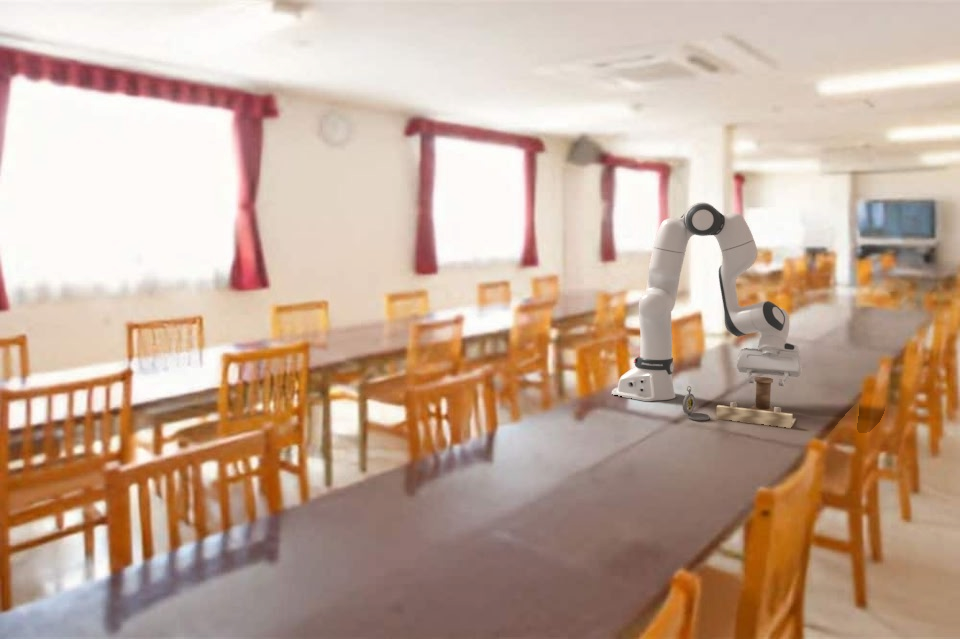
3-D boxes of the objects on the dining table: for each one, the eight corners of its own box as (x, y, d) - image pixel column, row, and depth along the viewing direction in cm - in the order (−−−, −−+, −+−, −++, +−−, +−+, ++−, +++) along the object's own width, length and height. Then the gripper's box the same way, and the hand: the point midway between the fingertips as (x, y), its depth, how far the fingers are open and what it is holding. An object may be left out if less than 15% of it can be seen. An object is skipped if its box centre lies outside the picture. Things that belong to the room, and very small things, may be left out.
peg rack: (716, 418, 224) (716, 403, 223) (723, 411, 233) (723, 396, 232) (791, 428, 213) (791, 412, 212) (795, 420, 221) (796, 404, 221)
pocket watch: (710, 422, 221) (711, 390, 219) (682, 420, 222) (683, 389, 221) (707, 415, 229) (708, 384, 227) (680, 414, 230) (681, 384, 229)
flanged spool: (749, 412, 232) (750, 379, 230) (753, 407, 238) (754, 375, 236) (771, 414, 228) (773, 382, 227) (775, 409, 234) (776, 377, 233)
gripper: (738, 342, 245) (732, 375, 238) (803, 346, 234) (798, 381, 227) (740, 353, 249) (734, 385, 242) (804, 357, 239) (799, 391, 231)
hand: (765, 383), depth 234 cm, fingers open, 8 cm apart
